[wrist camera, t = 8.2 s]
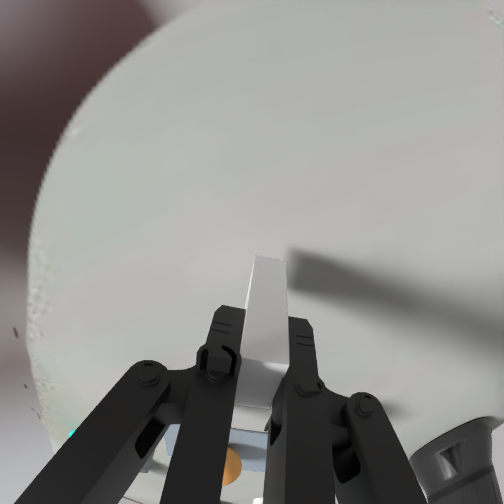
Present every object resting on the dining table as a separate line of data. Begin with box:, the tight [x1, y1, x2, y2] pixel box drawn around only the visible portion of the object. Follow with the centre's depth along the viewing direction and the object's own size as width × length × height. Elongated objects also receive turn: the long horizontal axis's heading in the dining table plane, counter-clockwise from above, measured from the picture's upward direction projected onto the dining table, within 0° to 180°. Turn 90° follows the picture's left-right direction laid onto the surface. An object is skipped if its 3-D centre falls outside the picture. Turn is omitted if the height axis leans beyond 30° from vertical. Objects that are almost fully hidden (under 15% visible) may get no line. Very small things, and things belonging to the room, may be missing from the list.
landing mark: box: [164, 424, 268, 472], centre depth 28 cm, size 14×14×1 cm
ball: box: [222, 447, 242, 486], centre depth 25 cm, size 6×6×6 cm
